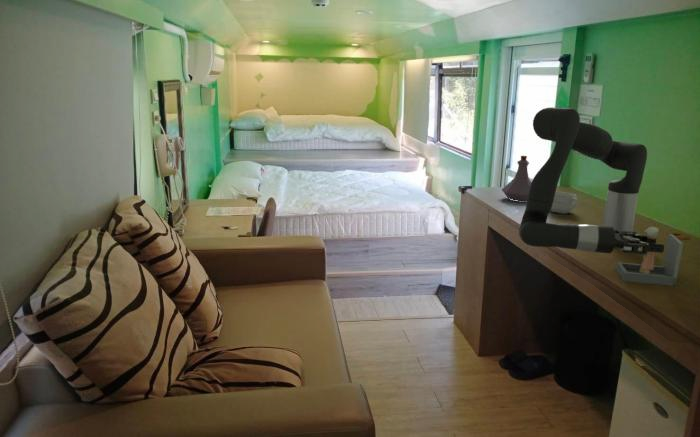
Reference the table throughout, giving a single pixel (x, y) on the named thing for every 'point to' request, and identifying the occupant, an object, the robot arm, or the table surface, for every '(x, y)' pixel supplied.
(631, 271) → the case
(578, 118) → the robot arm
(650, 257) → the grandmother figurine
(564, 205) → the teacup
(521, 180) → the flask
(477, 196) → the table surface
